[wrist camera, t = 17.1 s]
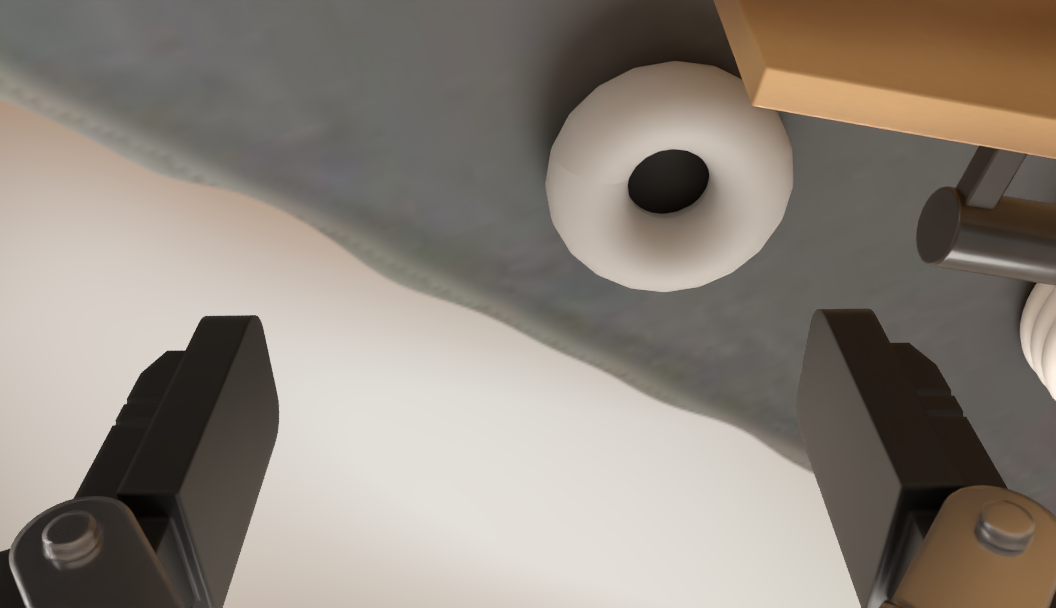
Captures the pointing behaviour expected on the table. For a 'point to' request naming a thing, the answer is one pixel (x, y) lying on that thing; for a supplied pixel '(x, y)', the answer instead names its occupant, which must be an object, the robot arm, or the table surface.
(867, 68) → the lid
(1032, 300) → the coaster
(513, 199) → the table surface
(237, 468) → the robot arm
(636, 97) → the donut
